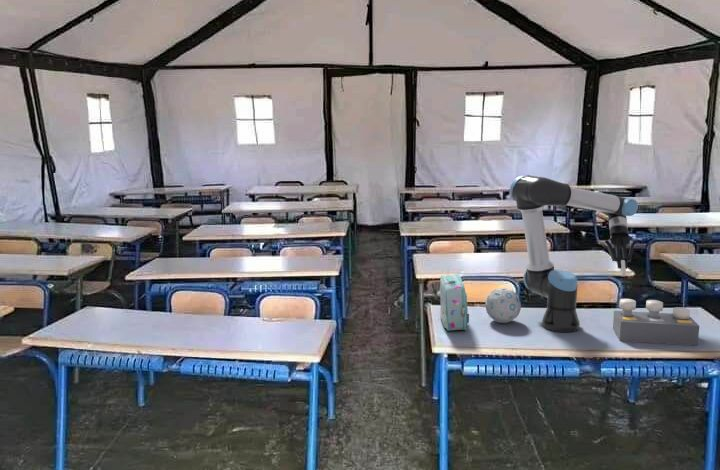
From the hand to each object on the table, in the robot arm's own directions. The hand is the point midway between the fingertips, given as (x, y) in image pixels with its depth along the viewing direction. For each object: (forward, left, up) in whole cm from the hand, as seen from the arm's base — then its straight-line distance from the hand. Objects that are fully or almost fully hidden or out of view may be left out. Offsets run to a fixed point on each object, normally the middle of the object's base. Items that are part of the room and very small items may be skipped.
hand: (623, 274), depth 242 cm
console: (+10, -14, -22) cm, 28 cm away
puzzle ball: (-49, -6, -22) cm, 54 cm away
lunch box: (-70, -13, -22) cm, 75 cm away
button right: (+20, -12, -18) cm, 30 cm away
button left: (0, -12, -16) cm, 20 cm away
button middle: (+10, -12, -16) cm, 22 cm away
